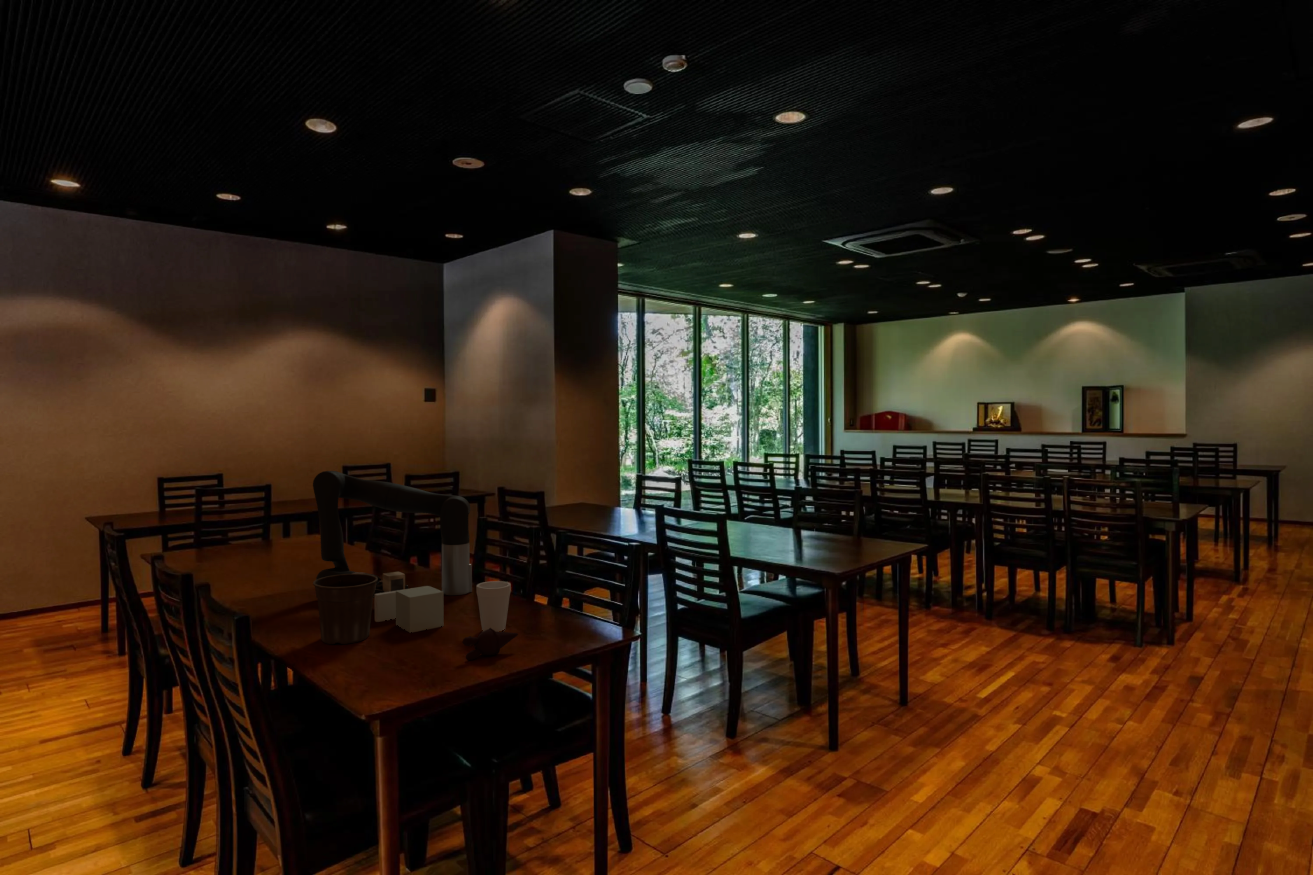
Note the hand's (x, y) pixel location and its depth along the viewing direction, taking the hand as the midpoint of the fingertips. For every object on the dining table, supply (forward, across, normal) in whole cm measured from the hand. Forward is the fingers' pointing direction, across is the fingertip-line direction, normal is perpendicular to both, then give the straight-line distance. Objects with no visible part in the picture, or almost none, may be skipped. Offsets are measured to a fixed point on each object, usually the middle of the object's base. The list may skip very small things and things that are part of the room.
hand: (395, 591), depth 222 cm
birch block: (-1, 0, +7) cm, 7 cm away
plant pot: (+11, -24, +7) cm, 27 cm away
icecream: (+54, -11, +7) cm, 55 cm away
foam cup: (+38, +4, +7) cm, 39 cm away
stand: (+18, -5, +6) cm, 19 cm away
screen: (+5, -2, +6) cm, 9 cm away
